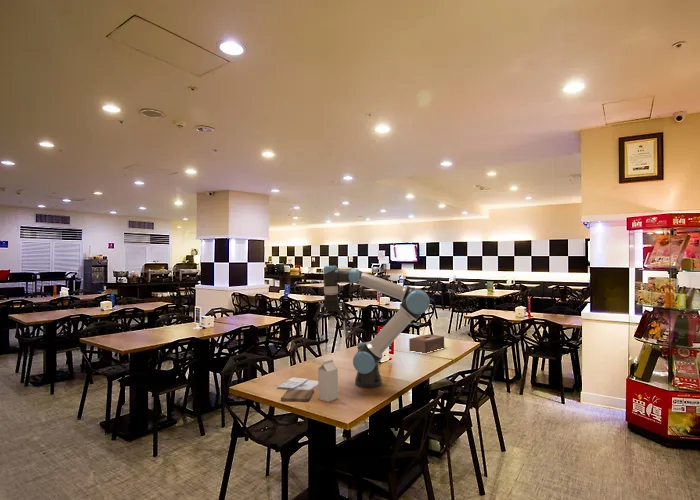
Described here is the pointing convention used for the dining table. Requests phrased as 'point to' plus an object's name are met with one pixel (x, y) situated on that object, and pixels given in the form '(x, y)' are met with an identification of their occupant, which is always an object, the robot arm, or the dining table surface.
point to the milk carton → (328, 381)
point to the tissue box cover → (426, 343)
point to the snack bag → (298, 384)
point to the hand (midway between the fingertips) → (332, 333)
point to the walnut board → (297, 395)
